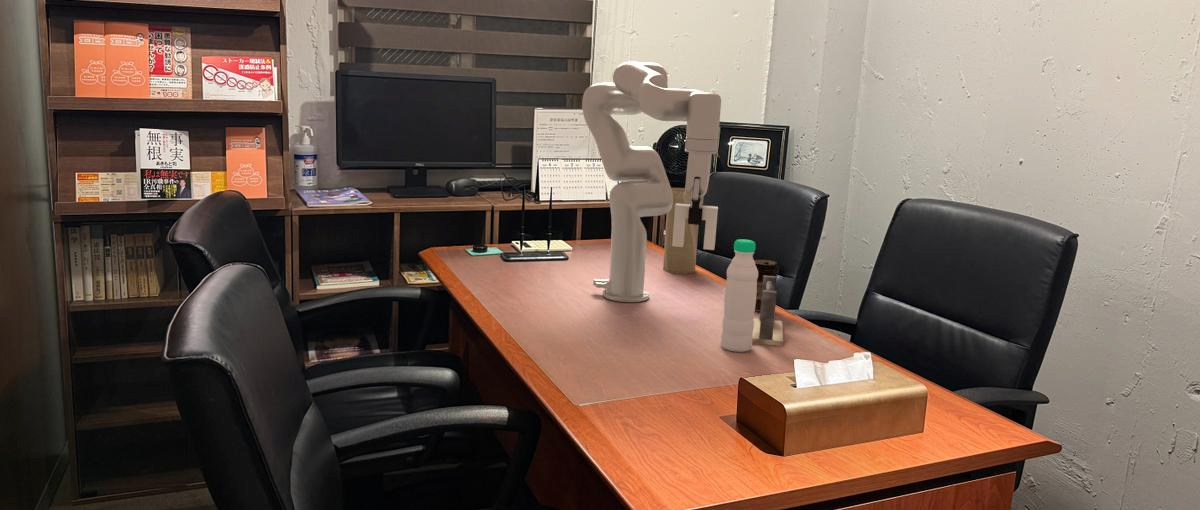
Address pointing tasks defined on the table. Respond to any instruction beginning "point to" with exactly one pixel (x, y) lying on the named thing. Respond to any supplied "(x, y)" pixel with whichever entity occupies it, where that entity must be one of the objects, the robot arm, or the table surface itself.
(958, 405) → the table surface
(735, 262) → the water bottle
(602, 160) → the robot arm
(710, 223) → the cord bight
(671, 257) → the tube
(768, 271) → the coffee cup
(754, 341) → the hook stand
